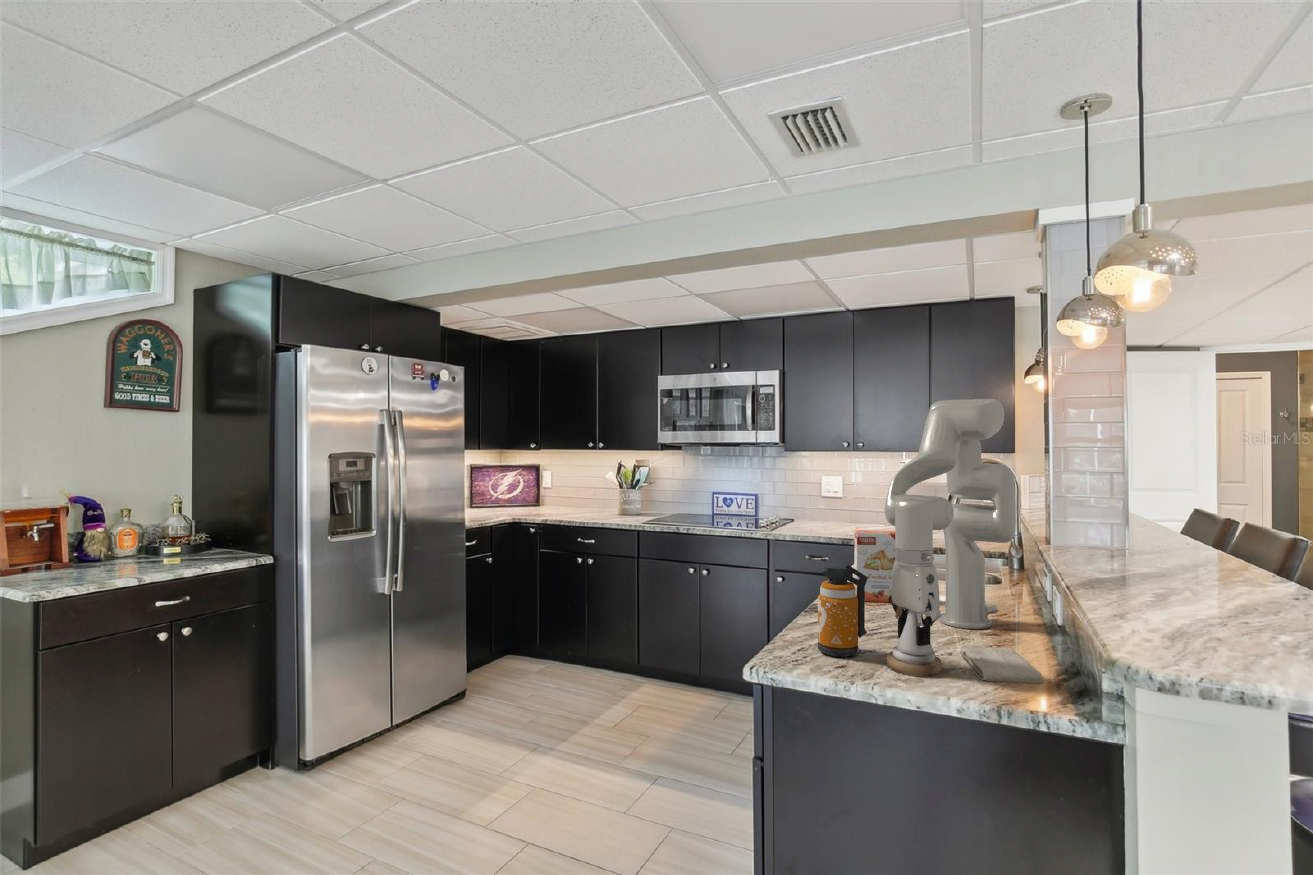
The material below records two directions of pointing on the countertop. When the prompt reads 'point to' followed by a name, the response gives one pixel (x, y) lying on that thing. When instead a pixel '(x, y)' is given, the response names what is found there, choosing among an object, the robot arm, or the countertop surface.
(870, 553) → the cracker box
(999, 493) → the robot arm
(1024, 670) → the washcloth
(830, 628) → the canister
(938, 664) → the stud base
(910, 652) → the flask
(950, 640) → the countertop surface
